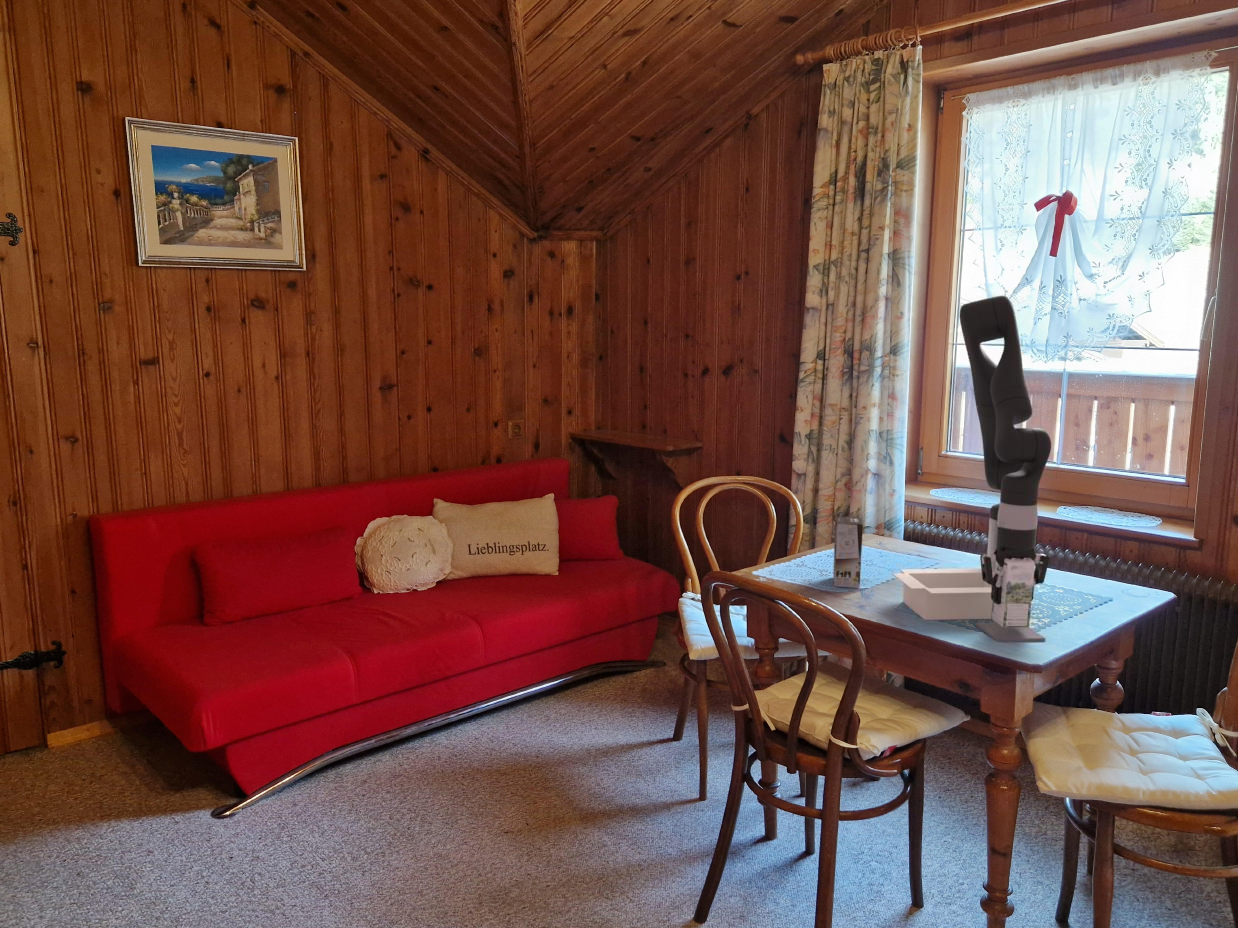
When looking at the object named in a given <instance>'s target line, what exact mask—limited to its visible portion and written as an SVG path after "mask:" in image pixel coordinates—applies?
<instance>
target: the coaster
mask: <svg viewBox="0 0 1238 928" xmlns="http://www.w3.org/2000/svg"><path fill="white" fill-rule="evenodd" d="M975 626H976V627H977V628H978V629H980V630H981V631H983V633H985V634H986V635H988V636H989V637H991V638H992V639H993V640H994V641H996V642H997V643H1000V642H1001V643H1003V642H1006V643H1007V642H1010V643H1011V642H1046V637H1044V636H1043V635H1041V634H1040V633H1038V632H1037V631H1035V630H1034V629H1032V628H1031V627H1030V626H1029V627H1002V626H1000V625H999V624H998V623H996V622H976V623H975Z"/></svg>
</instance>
